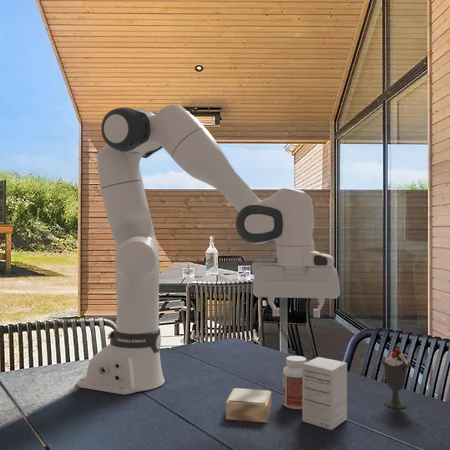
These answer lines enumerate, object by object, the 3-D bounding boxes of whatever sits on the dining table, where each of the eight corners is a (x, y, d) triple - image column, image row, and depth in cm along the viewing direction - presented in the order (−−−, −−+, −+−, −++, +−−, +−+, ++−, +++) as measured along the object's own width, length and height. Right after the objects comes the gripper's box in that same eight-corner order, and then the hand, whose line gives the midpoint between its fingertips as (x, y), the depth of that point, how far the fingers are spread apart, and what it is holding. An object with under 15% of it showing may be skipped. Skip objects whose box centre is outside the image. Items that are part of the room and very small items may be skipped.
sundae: (391, 411, 113) (392, 346, 113) (375, 401, 119) (375, 339, 119) (416, 409, 115) (417, 344, 114) (398, 399, 121) (399, 337, 121)
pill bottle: (314, 406, 116) (315, 359, 116) (294, 412, 112) (295, 363, 112) (296, 398, 121) (297, 353, 121) (277, 403, 117) (277, 357, 117)
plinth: (225, 419, 108) (226, 400, 108) (233, 404, 117) (233, 387, 117) (267, 422, 106) (267, 404, 106) (271, 407, 115) (271, 390, 115)
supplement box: (317, 411, 113) (318, 356, 113) (347, 420, 108) (348, 362, 108) (300, 421, 107) (301, 363, 107) (332, 430, 102) (332, 369, 102)
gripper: (249, 258, 115) (250, 317, 116) (339, 258, 111) (340, 320, 111) (253, 256, 122) (254, 312, 122) (339, 256, 117) (340, 315, 117)
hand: (296, 316), depth 116 cm, fingers open, 8 cm apart
